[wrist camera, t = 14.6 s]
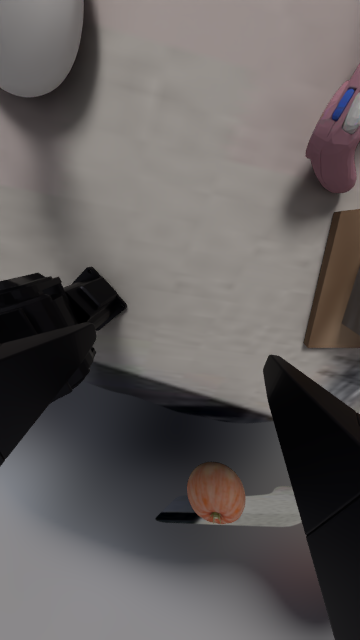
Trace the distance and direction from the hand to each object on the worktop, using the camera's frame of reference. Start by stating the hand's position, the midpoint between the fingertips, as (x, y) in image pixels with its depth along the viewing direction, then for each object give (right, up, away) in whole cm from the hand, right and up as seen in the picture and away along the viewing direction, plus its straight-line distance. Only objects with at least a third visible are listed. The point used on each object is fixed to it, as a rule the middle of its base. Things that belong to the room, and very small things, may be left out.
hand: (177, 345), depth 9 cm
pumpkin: (+8, -30, +28) cm, 42 cm away
